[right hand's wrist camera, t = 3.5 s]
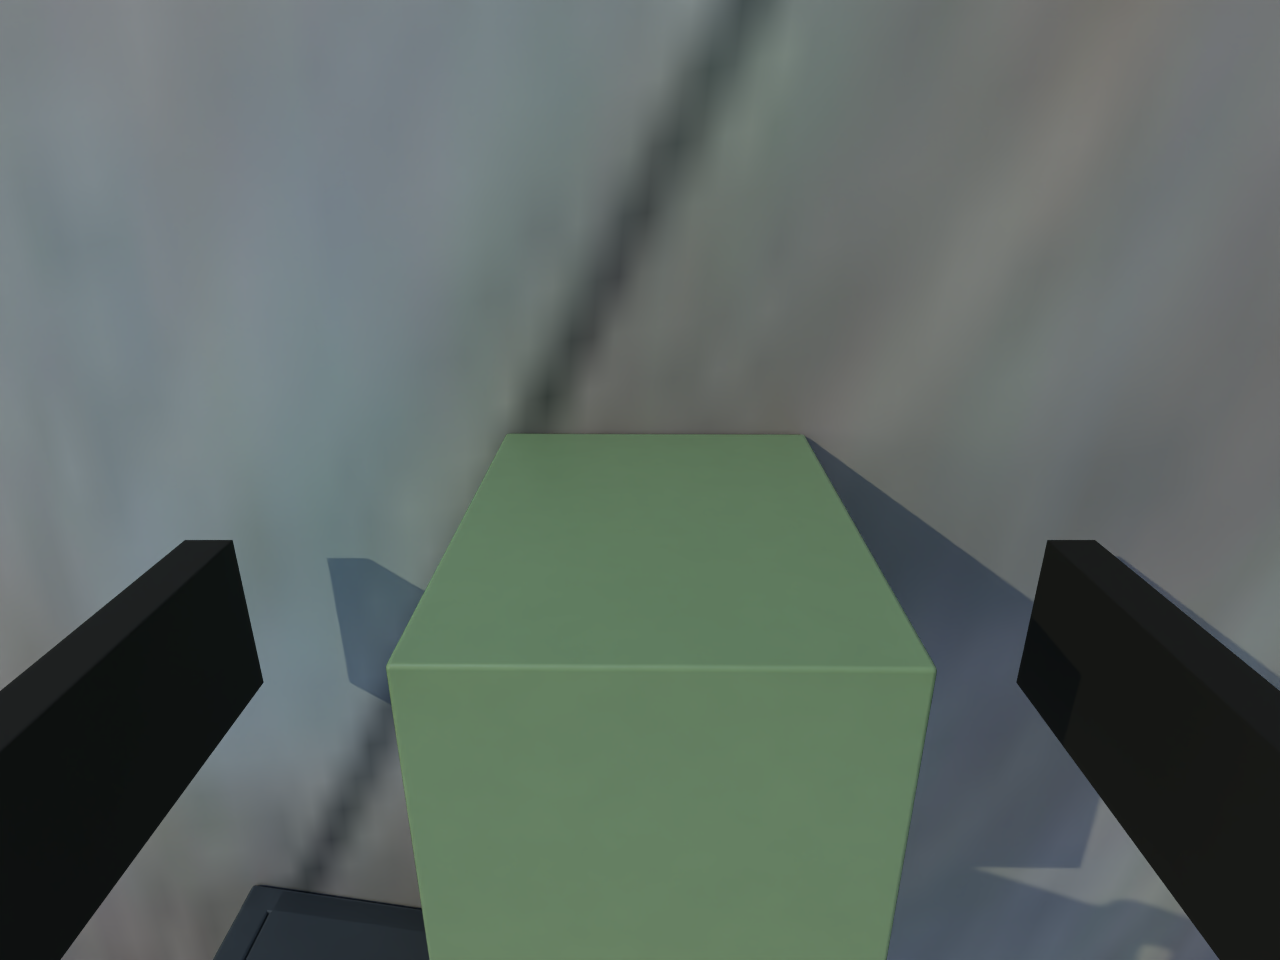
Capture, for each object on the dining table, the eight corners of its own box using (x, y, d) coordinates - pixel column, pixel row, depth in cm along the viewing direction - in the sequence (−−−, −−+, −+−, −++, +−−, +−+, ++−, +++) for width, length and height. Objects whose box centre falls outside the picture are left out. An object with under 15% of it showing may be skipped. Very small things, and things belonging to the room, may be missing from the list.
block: (804, 433, 13) (940, 670, 7) (783, 681, 15) (875, 1034, 9) (506, 432, 13) (383, 665, 7) (522, 679, 15) (437, 1029, 9)
